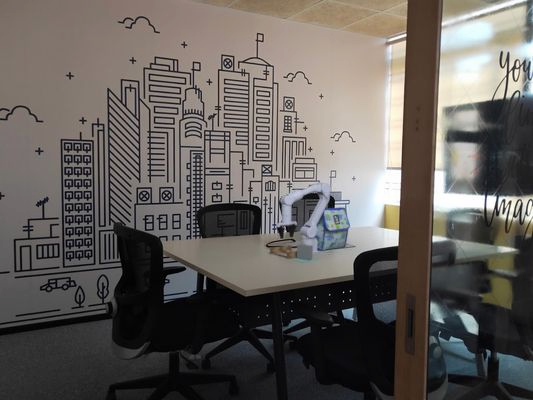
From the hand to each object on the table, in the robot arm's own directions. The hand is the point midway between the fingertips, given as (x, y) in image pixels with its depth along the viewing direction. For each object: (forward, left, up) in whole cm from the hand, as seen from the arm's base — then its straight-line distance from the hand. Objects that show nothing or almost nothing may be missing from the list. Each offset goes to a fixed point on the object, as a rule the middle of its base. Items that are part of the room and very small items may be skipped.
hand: (286, 237), depth 264 cm
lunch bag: (-35, +1, -9) cm, 36 cm away
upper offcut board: (-2, +5, -9) cm, 11 cm away
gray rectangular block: (+3, +19, -9) cm, 21 cm away
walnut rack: (+2, +5, -10) cm, 11 cm away
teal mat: (+3, +19, -10) cm, 22 cm away
